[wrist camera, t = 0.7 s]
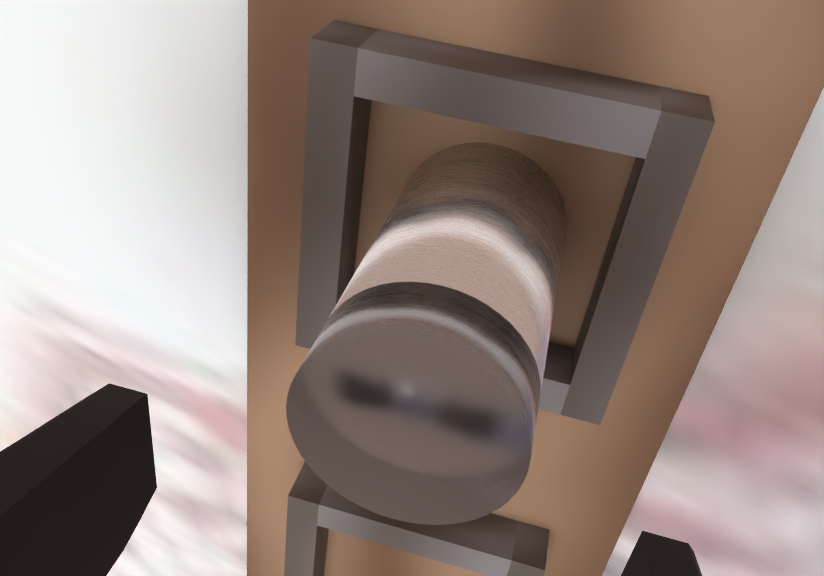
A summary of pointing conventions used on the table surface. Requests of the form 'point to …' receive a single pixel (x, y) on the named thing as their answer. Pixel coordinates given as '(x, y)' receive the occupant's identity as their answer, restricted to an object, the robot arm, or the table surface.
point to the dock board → (583, 245)
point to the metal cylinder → (438, 344)
